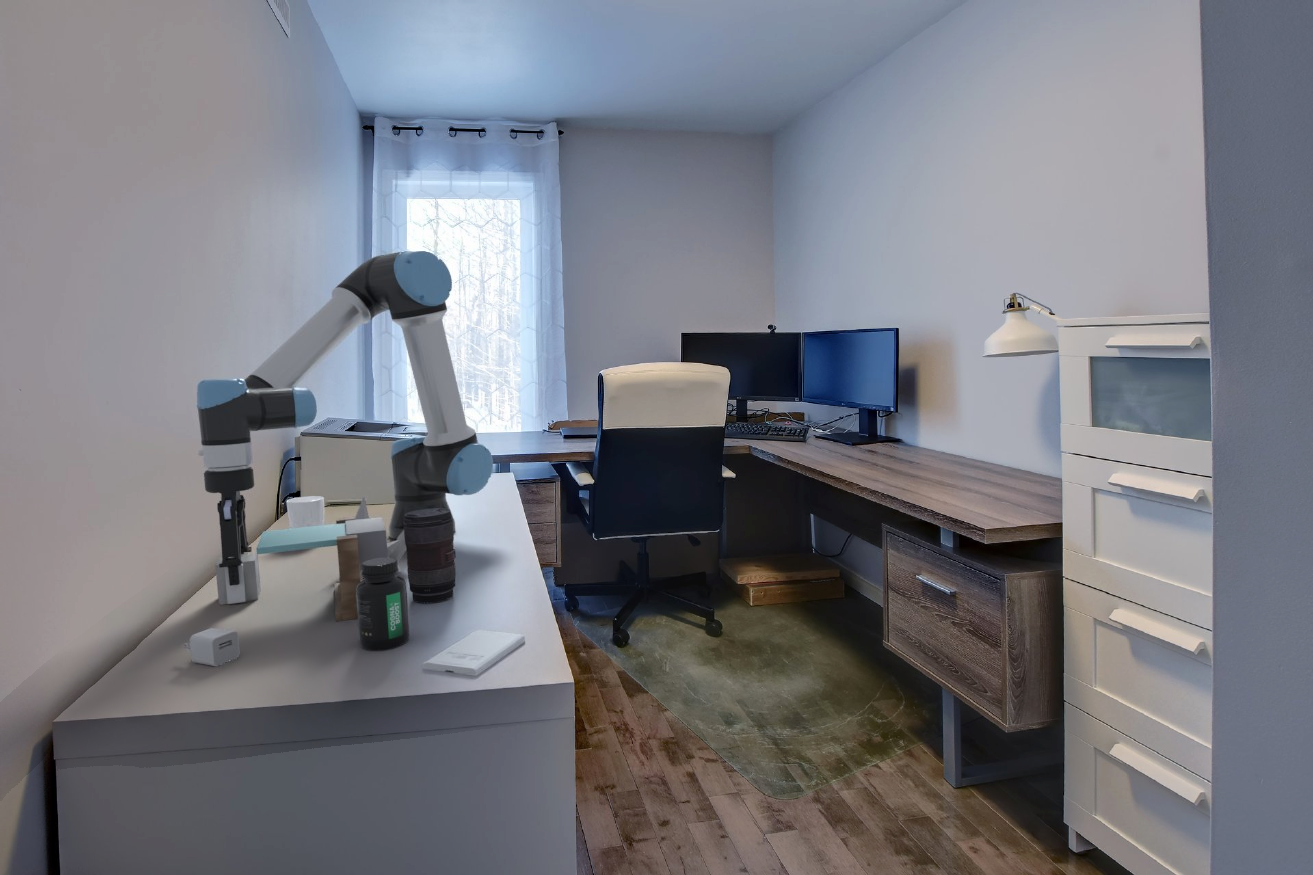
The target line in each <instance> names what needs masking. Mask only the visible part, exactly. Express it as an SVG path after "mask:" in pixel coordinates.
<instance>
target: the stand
mask: <svg viewBox="0 0 1313 875" xmlns="http://www.w3.org/2000/svg"><path fill="white" fill-rule="evenodd" d="M354 518H355V516H345V517H337V518H335V521H336V523H335V524H340V523H346V522H345V521H349V520H354ZM336 548H337V558H338V559H337V560H338V572H339V574H338V576H339V582H335V583H334V599H335V600H334V603H335V604H334V607H335V611H334V612H335V613H334V614H335V622H340V620H342V621H347V620H346V619H349V620H354V619H358V614H357V600H356V588H357V586H358V584H359V583H360V582H361V581H362V580H364V579H360V568H359V554H358V540H357V535H347V536H338V537H337V546H336Z"/></svg>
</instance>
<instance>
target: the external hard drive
mask: <svg viewBox="0 0 1313 875" xmlns="http://www.w3.org/2000/svg"><path fill="white" fill-rule="evenodd" d="M525 639H526V638H525V635H523V634H519V633H511V632H501V631H492V630H484V629H483V630H482V629H476V630H475V631H473V632H471V633H470V634H468V635H467V636H465V637H463V638H462V639H460V640H459V641H457V642H456V643H453V644H452V645H450V646H449V647H447V648H445V649H444V650H442V651H441V652H439V653H437V654H436V655H434V656H432V657H431V658H429V659H428V660H426V661H424V662H423V663H422V668H423V670H427V671H428V670H430V671H435V672H436V671H437V672H443V673H444V672H450V673H454V674H459V675H466V676H468V675H469V676H475V677H476V676H478V675H480V674H481V673H482V672H484V671H485V670H486V669H488V668H489V667H491V666H492V665H495V663H497V662H498V661H499V660H501V659H503V658H504V657H505V656H506V655H509V653H511V652H512V651H514V650H516V648H518V647H519V646H521V645H522V644H524V643H525Z"/></svg>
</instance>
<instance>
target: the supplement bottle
mask: <svg viewBox="0 0 1313 875" xmlns="http://www.w3.org/2000/svg"><path fill="white" fill-rule="evenodd" d="M398 566H399V563H397V560H396V559H395V558H376V559H371V560H367V561H365V562H363V563H362V573H361V574H362V577H364V580H363V579H361V580H362V581H361V582H360V583H359V584H358V586H357V588H356V600H357V614H358V618H357V623H358V624H357V625H358V637H359V640H358V641H359V645H360V646H361V647H362V648H363V649H364V650H366V651H367V650H369V651H386V650H390V649H395V648H398V647H400V646H403V645H405V644H406V643H407V642H408V640H409V638H410V622H409V621H410V620H409V606H408V592H407V591H408V590H407V583H406V581H405V579H404V578H403V577H401V576H399V575H398V573H399V571H398Z"/></svg>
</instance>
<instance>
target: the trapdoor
mask: <svg viewBox="0 0 1313 875" xmlns="http://www.w3.org/2000/svg"><path fill="white" fill-rule="evenodd" d="M383 520H384V519H383V518H382V516H379V517H372V518H370V517H369V519H359V520H349V521H345V522H346V523H340V524H336V523H333V524H332V523H331V524H324V525H321V526H311V527H301V528H291V529H290V528H285V529H284V528H283V529H274V530H264V531H262V533H261V536H260V538H259V541H258V544H257V545H256V548H255V549H256V553H257V555H258V556H259V555H265V554H273V553H275V554H276V553H283V552H291V551H299V550H300V551H301V550H308V549H317V548H318V549H319V548H327V547H337V537H338V536H347V535H357V540H358V554H359V563H363V562H365V561H367V560H371V559H376V558H388V553H387V542H388V539H387V529H386V527H385V526H386V525H385V523H384V521H383Z"/></svg>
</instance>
